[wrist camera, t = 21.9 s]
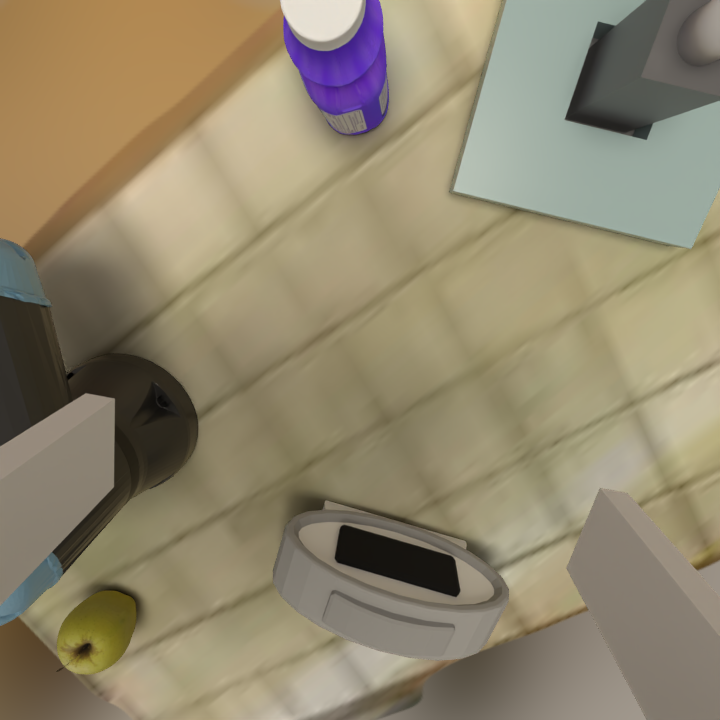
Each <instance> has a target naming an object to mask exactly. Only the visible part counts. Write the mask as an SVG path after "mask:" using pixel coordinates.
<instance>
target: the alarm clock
mask: <svg viewBox="0 0 720 720" xmlns="http://www.w3.org/2000/svg"><path fill="white" fill-rule="evenodd" d="M466 547H467V544H466V541H464V540H460V539H457V538H453V537H450V536H446V535H443V534H440V533H436V532H433V531H429V530H426V529H423V528H419V527H416V526H412V525H409V524H406V523H402V522H400V521H396V520H392V519H388V518H385V517H382V516H378V515H375V514H371V513H368V512H365V511H361V510H358V509H354V508H351V507H348V506H344V505H341V504H337V503H334V502H330V501H327V500H325V504H324V507H323V510H316V511H307V512H304V513H301V514H299V515H296V516H294V517H293V518H292V519H291V520H290V521H289V522H288V524H287V525H286V526H285V530H284V533H283V537H282V540H281V544H280V547H279V551H278V554H277V558H276V561H275V565H274V568H273V583H274V585H275V587H276V588H277V590H278V592H279V594H280V595H281V597H282V598H283V599H284V600H285V601H286V602H287V603H288V604H290V605H291V606H292V607H293V608H294V609H295V610H296V611H297V612H298V613H300V614H301V615H303V616H304V617H306V618H307V619H309V620H310V621H312V622H313V623H315V624H317V625H318V626H320V627H322V628H324V629H326V630H328V631H330V632H332V633H334V634H336V635H338V636H340V637H342V638H344V639H346V640H349V641H352V642H355V643H358V644H360V645H363V646H366V647H369V648H372V649H375V650H378V651H382V652H386V653H390V654H395V655H399V656H404V657H408V658H417V659H427V660H451V659H462V658H465V657H467V656H470V655H473V654H476V653H478V652H479V651H480V650H481V649H482V648H483V646H484V645H485V644H486V643H487V641H488V639H489V637H490V635H491V633H492V632H493V630H494V628H495V626H496V624H497V622H498V620H499V618H500V616H501V615H502V613H503V611H504V609H505V607H506V605H507V603H508V599H509V589H508V587H507V585H506V583H505V582H504V580H503V578H502V577H501V576H500V575H499V574H498V573H497V572H496V571H495V570H494V569H493V568H492V567H491V566H490V565H489V564H487V563H486V562H484V561H483V560H482V559H480V558H479V557H477V556H476V555H474V554H473V553H471V552H470V551H468V550H466Z"/></svg>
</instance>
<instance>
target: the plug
mask: <svg viewBox="0 0 720 720" xmlns="http://www.w3.org/2000/svg"><path fill="white" fill-rule="evenodd" d="M717 101H720V0H646V1H644V2H643V3H642V4H641V5H640V6H639V7H637V8H636V9H635V10H634V11H633V12H631V13H630V14H629V15H628V16H627V17H625V18H624V19H623V20H622V21H621V22H620V23H618V24H617V25H616V26H615V27H614V28H612V29H611V30H610V31H609V32H608V33H606V34H605V35H604V36H603V37H602V38H600V39H599V40H598V41H597V42H596V43H595V44H593V45H592V46H591V47H590V48H589V49H588V52H587V55H586V58H585V61H584V64H583V67H582V70H581V73H580V76H579V79H578V82H577V84H576V87H575V90H574V93H573V96H572V99H571V102H570V105H569V108H568V111H567V114H566V117H565V119H568V120H573V121H577V122H581V123H585V124H589V125H593V126H597V127H601V128H605V129H610V130H614V131H618V132H622V133H626V132H629V131H632V130H635V129H638V128H641V127H643V126H646V125H649V124H652V123H655V122H658V121H661V120H664V119H667V118H670V117H673V116H676V115H679V114H682V113H685V112H688V111H691V110H694V109H696V108H699V107H702V106H705V105H708V104H711V103H714V102H717Z"/></svg>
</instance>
